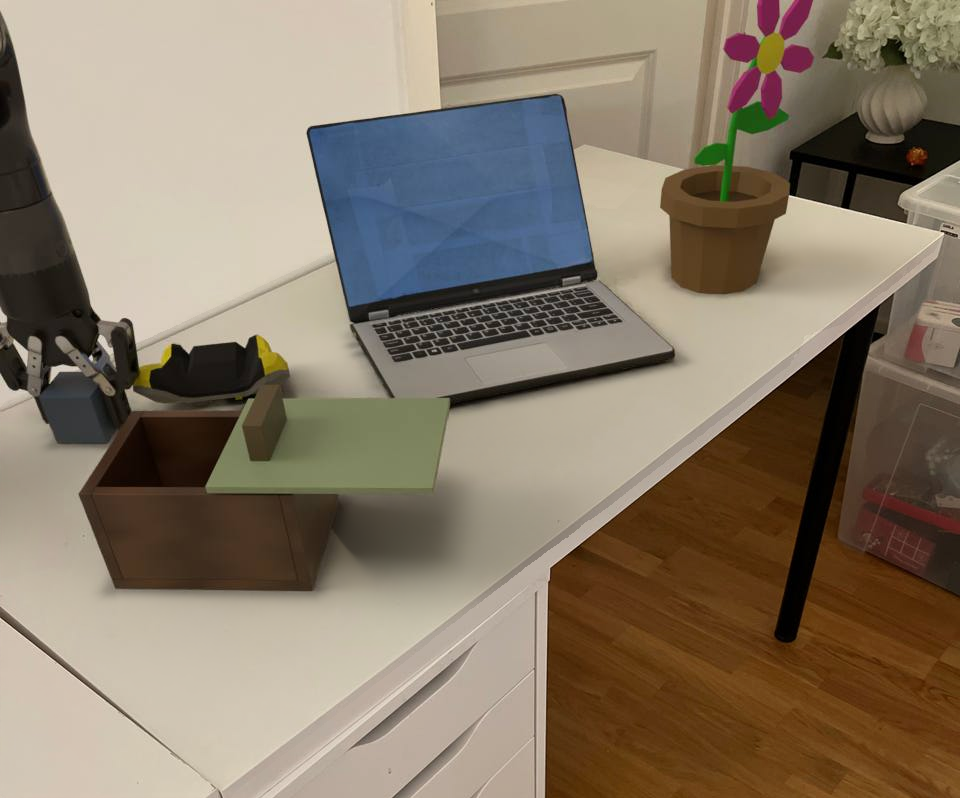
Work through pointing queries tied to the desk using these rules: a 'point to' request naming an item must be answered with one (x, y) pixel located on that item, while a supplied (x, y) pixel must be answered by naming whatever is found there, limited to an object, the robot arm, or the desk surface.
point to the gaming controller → (211, 372)
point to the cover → (332, 446)
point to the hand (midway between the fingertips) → (90, 424)
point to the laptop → (471, 251)
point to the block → (76, 409)
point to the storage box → (197, 513)
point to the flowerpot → (736, 169)
